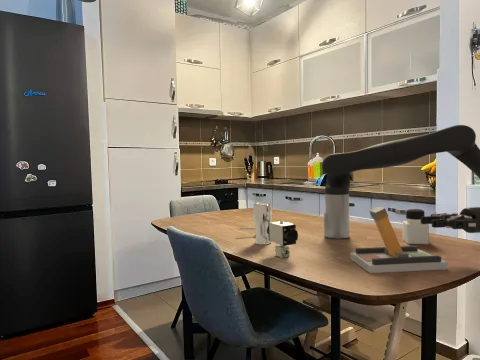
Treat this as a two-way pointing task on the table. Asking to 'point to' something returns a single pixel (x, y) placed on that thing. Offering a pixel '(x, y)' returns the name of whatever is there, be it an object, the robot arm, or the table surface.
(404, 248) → the dark grey mounting rails
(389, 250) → the lever
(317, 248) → the table surface
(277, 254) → the pneumatic valve
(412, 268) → the breaker panel
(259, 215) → the beer glass
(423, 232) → the medicine bottle
